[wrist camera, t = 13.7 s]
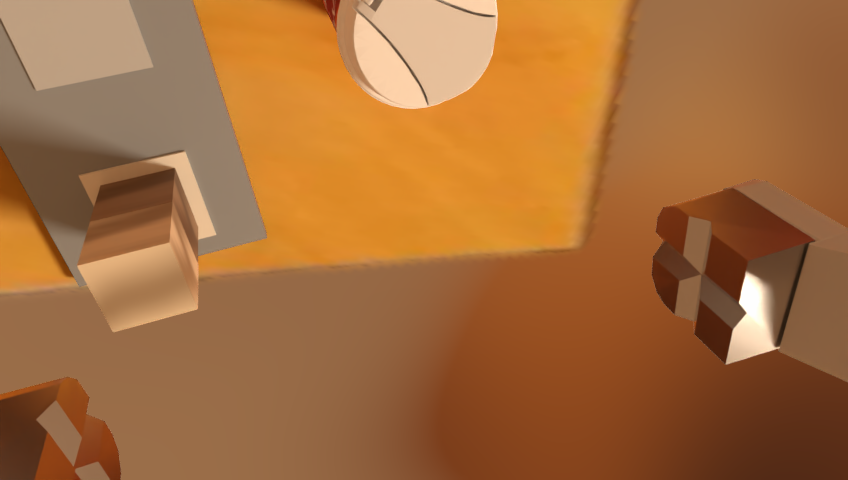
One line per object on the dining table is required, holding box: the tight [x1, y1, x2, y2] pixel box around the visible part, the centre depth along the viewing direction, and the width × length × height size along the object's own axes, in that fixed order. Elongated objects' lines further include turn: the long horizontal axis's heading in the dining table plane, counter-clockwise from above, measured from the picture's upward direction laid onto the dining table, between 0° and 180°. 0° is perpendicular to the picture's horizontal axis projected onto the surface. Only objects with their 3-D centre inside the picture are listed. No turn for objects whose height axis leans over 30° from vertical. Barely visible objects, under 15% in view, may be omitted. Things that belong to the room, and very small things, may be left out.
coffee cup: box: [322, 0, 498, 109], centre depth 35 cm, size 8×8×15 cm
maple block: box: [77, 202, 198, 332], centre depth 38 cm, size 5×5×5 cm
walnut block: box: [90, 168, 198, 262], centre depth 42 cm, size 5×5×5 cm
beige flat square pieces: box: [0, 0, 267, 287], centre depth 41 cm, size 22×14×1 cm, turn 7°
